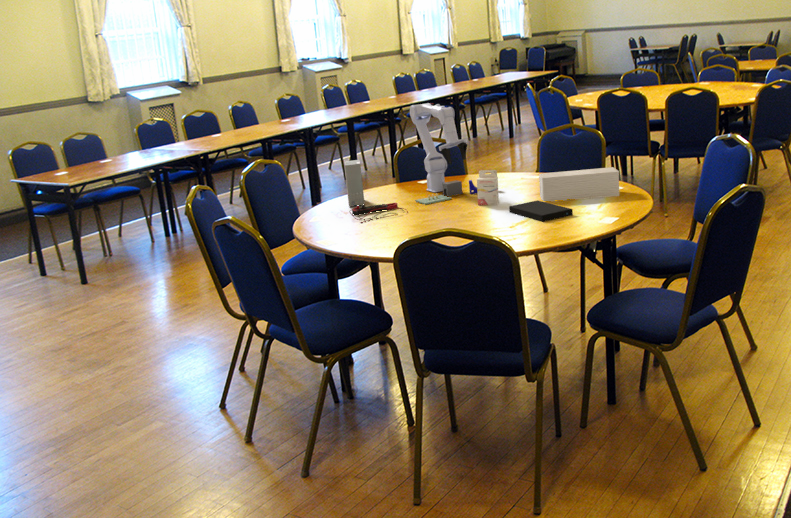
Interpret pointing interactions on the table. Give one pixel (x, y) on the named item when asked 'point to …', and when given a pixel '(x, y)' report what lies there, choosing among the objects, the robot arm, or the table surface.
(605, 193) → the long white block
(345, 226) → the table surface
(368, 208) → the digital clamp meter
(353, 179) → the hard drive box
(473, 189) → the cable clip
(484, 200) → the ink cartridge box
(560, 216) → the external hard drive
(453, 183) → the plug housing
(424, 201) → the board
